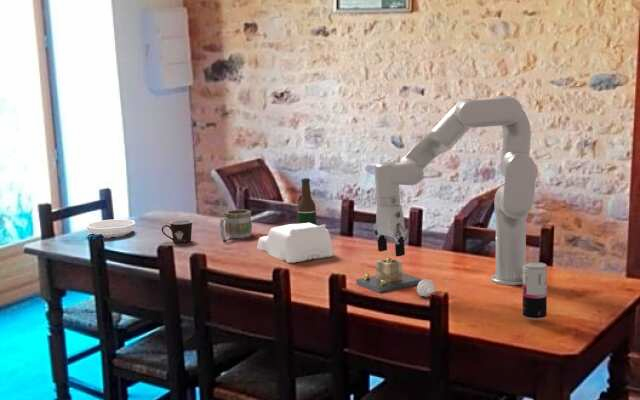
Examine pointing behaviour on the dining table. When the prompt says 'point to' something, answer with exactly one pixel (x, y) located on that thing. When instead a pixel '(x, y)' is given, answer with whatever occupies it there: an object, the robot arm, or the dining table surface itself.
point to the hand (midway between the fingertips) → (391, 253)
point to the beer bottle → (306, 205)
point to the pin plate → (384, 286)
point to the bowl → (111, 227)
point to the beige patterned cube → (389, 270)
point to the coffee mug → (180, 231)
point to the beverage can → (534, 290)
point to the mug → (236, 224)
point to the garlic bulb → (425, 288)
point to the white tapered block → (297, 242)
